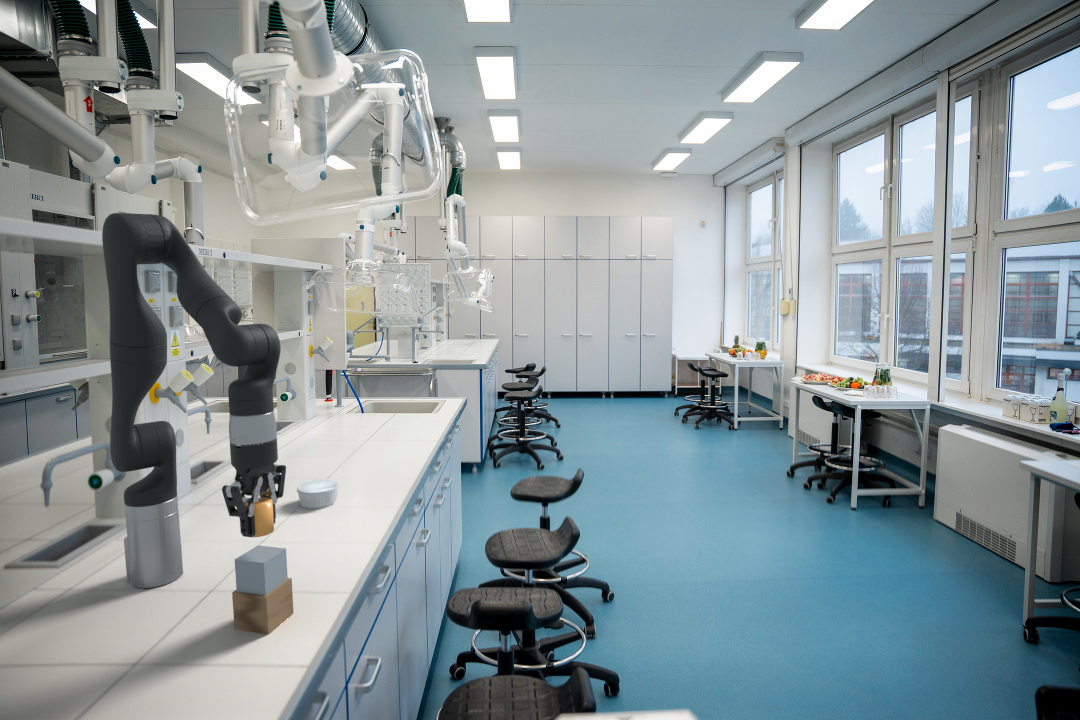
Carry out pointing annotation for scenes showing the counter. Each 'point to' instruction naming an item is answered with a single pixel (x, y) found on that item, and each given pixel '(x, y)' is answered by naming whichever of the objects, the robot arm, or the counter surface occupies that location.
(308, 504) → the ramekin
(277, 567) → the grey top cube
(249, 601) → the walnut base cube
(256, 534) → the orange rounded cylinder
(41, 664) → the counter surface
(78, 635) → the counter surface
